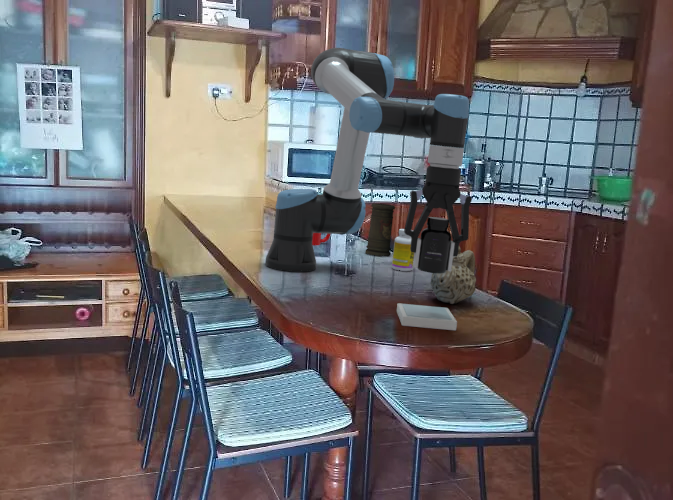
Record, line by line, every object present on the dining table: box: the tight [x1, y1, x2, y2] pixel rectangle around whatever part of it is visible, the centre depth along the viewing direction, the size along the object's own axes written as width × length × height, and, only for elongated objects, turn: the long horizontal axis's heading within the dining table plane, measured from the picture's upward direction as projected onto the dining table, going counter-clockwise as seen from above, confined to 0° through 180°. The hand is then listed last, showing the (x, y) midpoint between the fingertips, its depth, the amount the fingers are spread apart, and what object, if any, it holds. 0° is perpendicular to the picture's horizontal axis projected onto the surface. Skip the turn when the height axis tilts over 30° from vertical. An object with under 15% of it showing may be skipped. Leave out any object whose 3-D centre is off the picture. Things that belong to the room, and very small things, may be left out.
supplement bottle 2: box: [417, 216, 452, 274], centre depth 147 cm, size 7×7×12 cm
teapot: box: [430, 245, 477, 305], centre depth 171 cm, size 21×12×15 cm, turn 148°
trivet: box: [396, 302, 458, 331], centre depth 150 cm, size 12×12×2 cm
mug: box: [312, 233, 332, 246], centre depth 244 cm, size 8×12×8 cm, turn 116°
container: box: [364, 203, 396, 257], centre depth 233 cm, size 9×9×18 cm
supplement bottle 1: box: [391, 228, 414, 272], centre depth 209 cm, size 7×7×13 cm
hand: (431, 268), depth 148 cm, fingers closed on supplement bottle 2, 7 cm apart
